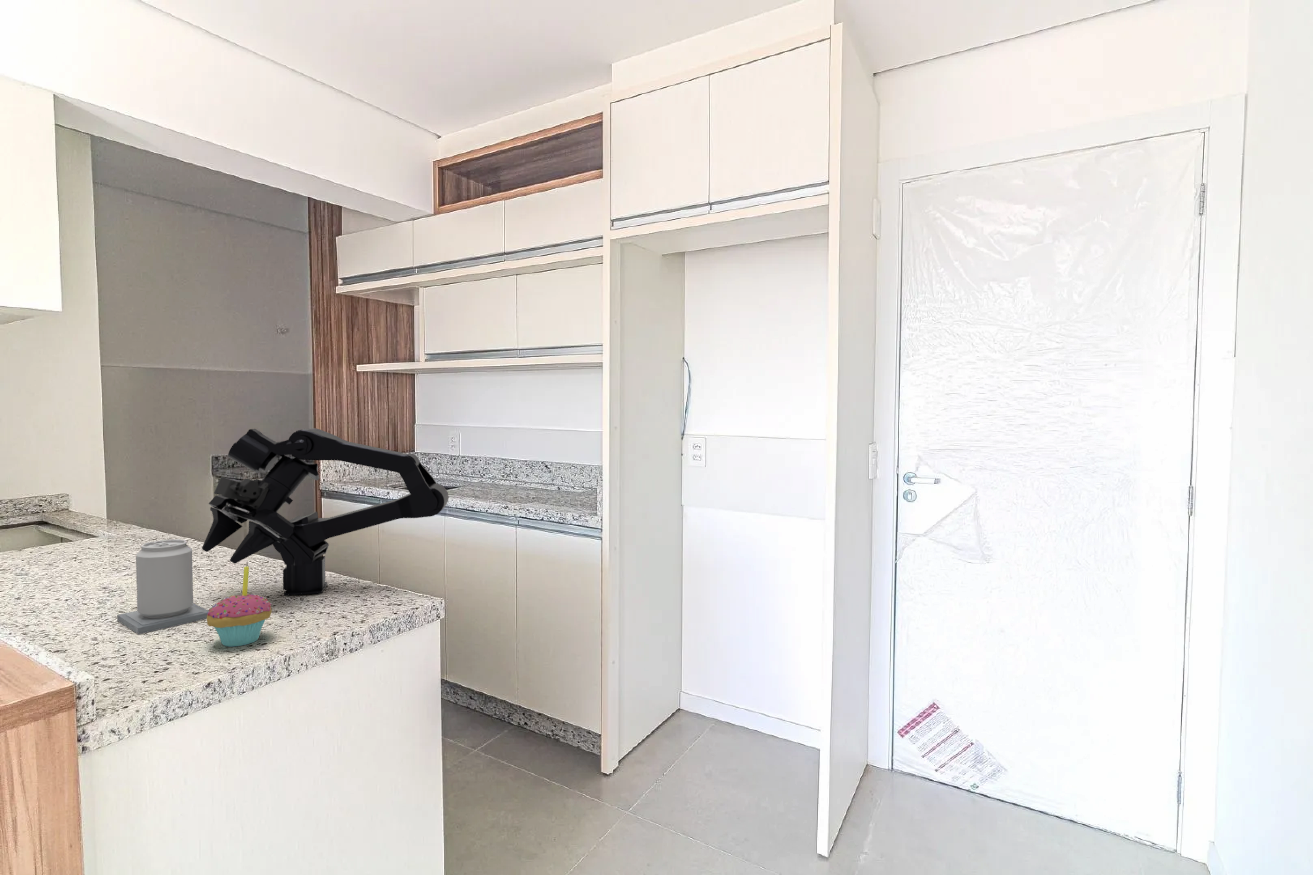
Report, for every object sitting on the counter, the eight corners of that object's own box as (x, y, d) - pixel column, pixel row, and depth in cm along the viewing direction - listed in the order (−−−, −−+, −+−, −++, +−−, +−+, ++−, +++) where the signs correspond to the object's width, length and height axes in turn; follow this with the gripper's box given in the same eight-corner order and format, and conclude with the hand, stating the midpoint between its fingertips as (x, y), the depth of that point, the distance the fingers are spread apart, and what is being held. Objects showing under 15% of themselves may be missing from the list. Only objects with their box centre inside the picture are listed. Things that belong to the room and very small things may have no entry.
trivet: (187, 605, 114) (187, 599, 114) (211, 617, 109) (210, 611, 109) (117, 620, 106) (117, 614, 106) (138, 634, 100) (138, 627, 100)
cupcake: (228, 631, 103) (227, 557, 102) (283, 630, 103) (282, 557, 103) (194, 652, 94) (192, 572, 93) (254, 651, 95) (253, 572, 94)
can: (163, 621, 103) (161, 548, 102) (125, 617, 105) (123, 545, 104) (204, 607, 111) (203, 538, 110) (168, 603, 112) (166, 536, 111)
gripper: (218, 452, 120) (152, 521, 112) (276, 468, 111) (209, 545, 103) (262, 485, 128) (204, 552, 120) (319, 503, 119) (260, 576, 111)
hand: (217, 556), depth 114 cm, fingers open, 9 cm apart
